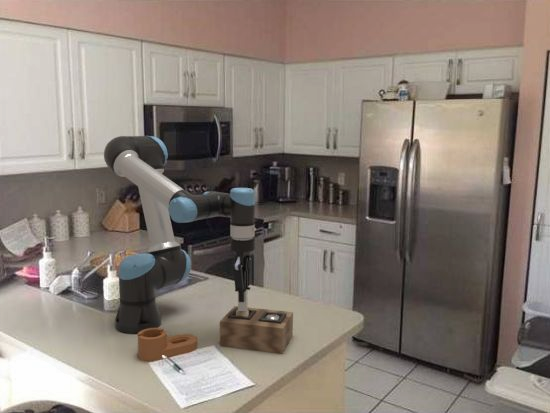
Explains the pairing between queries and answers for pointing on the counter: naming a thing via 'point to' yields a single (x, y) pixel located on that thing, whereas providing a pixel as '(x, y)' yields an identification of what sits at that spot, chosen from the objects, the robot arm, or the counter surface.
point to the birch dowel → (242, 313)
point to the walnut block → (257, 330)
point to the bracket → (163, 344)
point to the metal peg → (272, 317)
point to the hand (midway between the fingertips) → (242, 310)
